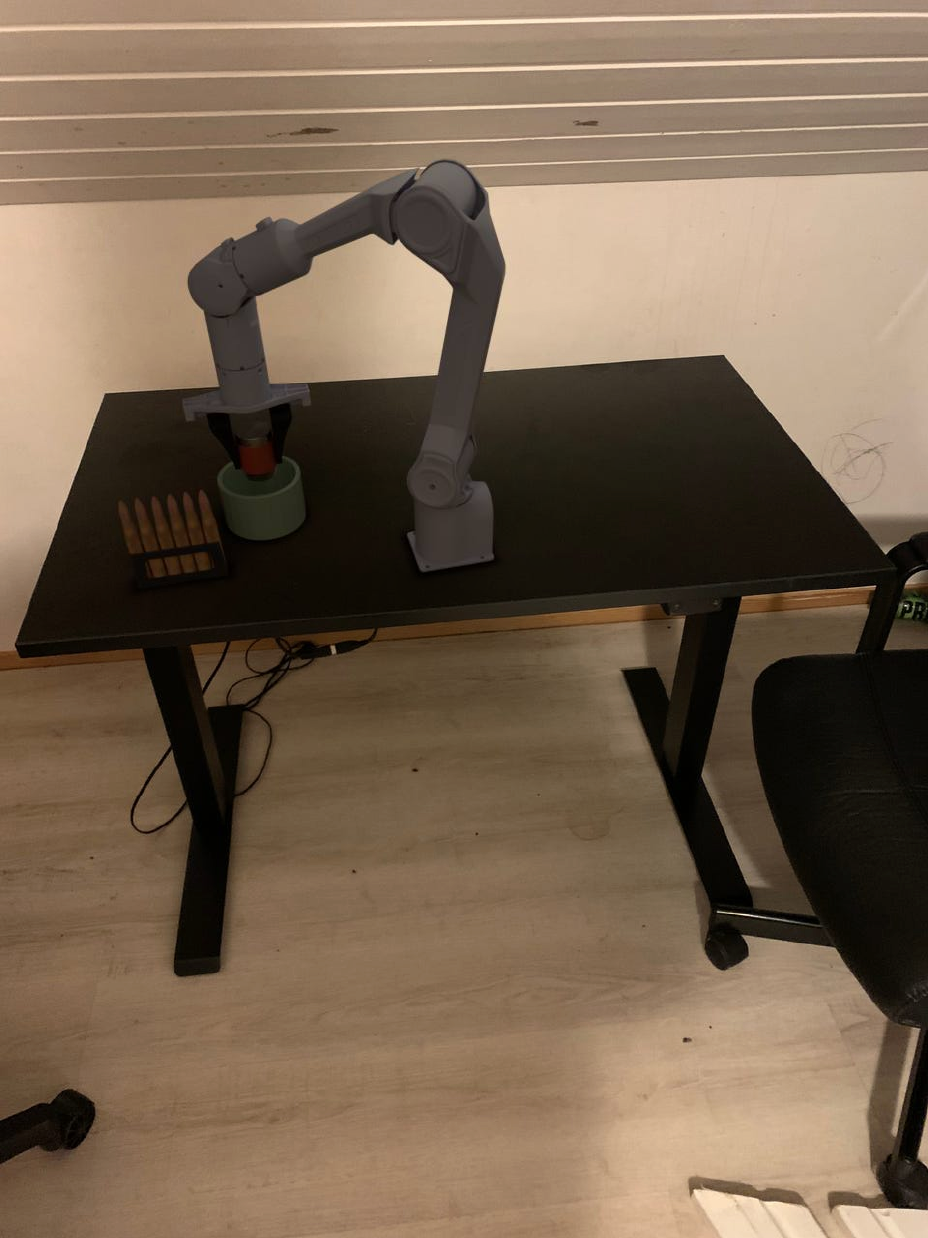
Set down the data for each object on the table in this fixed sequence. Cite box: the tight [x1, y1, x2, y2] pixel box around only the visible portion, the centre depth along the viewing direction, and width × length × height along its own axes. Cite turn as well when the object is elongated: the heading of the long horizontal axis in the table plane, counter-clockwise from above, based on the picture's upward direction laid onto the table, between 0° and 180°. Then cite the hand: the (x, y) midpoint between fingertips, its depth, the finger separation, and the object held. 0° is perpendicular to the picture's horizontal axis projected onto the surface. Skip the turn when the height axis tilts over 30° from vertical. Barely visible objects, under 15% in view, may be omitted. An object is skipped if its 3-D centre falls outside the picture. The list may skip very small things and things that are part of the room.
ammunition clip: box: [118, 489, 230, 590], centre depth 101 cm, size 11×2×12 cm, turn 104°
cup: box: [216, 455, 307, 541], centre depth 113 cm, size 10×10×6 cm
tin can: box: [233, 420, 278, 482], centre depth 106 cm, size 4×4×6 cm
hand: (258, 462), depth 107 cm, fingers closed on tin can, 4 cm apart
